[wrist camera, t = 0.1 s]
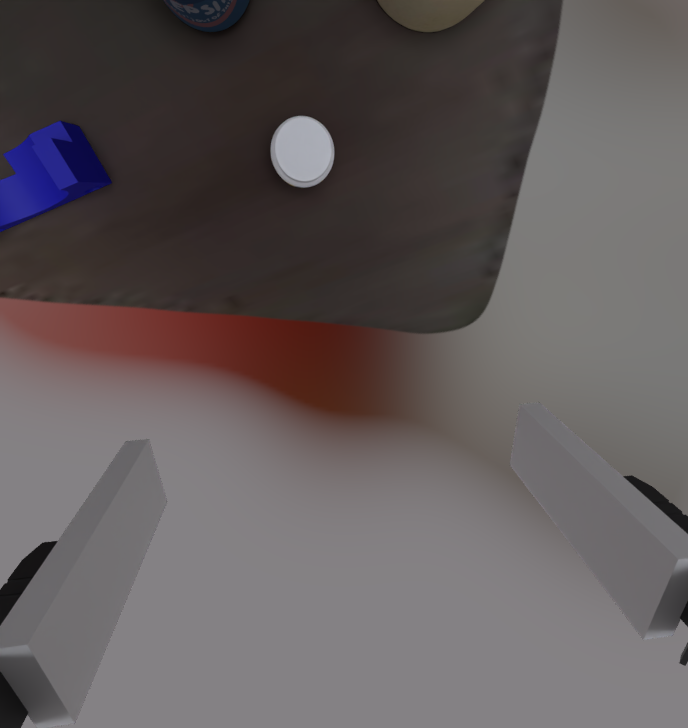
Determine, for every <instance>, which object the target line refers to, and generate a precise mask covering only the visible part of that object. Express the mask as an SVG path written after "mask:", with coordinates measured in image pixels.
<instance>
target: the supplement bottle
mask: <svg viewBox="0 0 688 728" xmlns="http://www.w3.org/2000/svg"><path fill="white" fill-rule="evenodd" d="M270 153H271V159H272V163H273V166H274V168H275V170H276V171H277V173H278V174H279V176H280V177H281V178H282V179H283V180H284V181H285V182H286V183H288V184H289V185H291V186H294V187H298V188H308V187H312V186H315V185H317V184H319V183H320V182H321V181H323V180H324V179H325V177H326V176H327V175H328V174H329V172H330V170H331V168H332V165H333V161H334V145H333V141H332V138H331V136H330V134H329V132H328V131H327V129H326V128H325V127H324V126H323V125H322V124H321V123H320V122H319V121H317V120H315V119H313V118H311V117H307V116H295V117H292V118H289V119H287V120H286V121H284V122H283V123H282V124H281V125H280V126H279V127H278V128H277V130H276V131H275V133H274V135H273V138H272V141H271V148H270Z"/></svg>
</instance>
